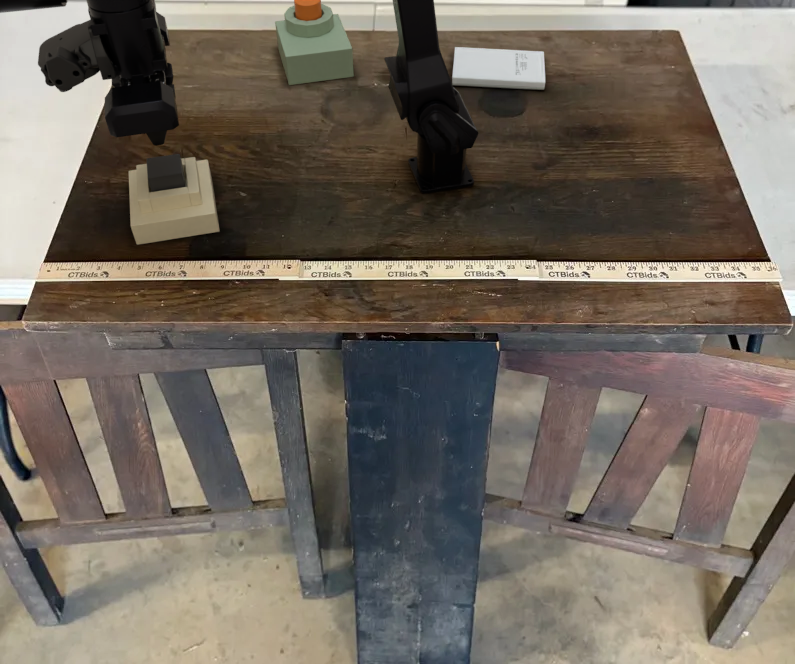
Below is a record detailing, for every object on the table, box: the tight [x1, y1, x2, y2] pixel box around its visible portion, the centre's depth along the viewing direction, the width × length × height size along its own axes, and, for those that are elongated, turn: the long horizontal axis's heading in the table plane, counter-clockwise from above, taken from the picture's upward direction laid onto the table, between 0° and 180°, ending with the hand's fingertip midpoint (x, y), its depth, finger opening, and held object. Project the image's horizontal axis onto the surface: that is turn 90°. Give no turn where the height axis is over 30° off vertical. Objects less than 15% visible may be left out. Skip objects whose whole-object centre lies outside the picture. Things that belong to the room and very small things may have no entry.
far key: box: [293, 0, 322, 21], centre depth 109 cm, size 4×4×2 cm
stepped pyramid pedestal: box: [128, 156, 221, 246], centre depth 89 cm, size 10×9×4 cm
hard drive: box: [451, 46, 546, 91], centre depth 110 cm, size 2×8×12 cm
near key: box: [146, 153, 185, 192], centre depth 87 cm, size 4×4×2 cm
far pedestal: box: [274, 3, 355, 86], centre depth 110 cm, size 11×9×6 cm
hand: (158, 143), depth 84 cm, fingers closed
